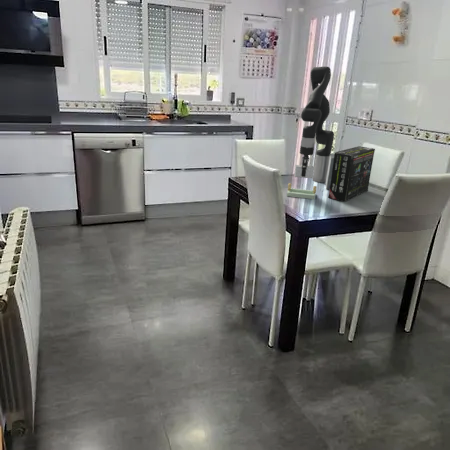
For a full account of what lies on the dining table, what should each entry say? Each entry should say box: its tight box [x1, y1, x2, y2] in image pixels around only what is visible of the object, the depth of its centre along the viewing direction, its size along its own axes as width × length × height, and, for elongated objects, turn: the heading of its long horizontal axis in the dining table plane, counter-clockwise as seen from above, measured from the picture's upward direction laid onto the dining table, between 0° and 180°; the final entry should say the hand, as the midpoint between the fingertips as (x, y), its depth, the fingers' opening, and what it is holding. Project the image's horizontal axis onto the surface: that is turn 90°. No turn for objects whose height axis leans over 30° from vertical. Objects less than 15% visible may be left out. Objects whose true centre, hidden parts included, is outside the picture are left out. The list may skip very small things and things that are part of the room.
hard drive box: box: [325, 153, 335, 190], centre depth 250 cm, size 16×8×20 cm, turn 168°
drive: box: [294, 164, 314, 180], centre depth 227 cm, size 5×10×6 cm, turn 84°
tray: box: [286, 182, 317, 200], centre depth 230 cm, size 11×16×6 cm
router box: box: [328, 145, 376, 203], centre depth 234 cm, size 36×11×27 cm, turn 141°
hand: (303, 175), depth 227 cm, fingers closed on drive, 5 cm apart
